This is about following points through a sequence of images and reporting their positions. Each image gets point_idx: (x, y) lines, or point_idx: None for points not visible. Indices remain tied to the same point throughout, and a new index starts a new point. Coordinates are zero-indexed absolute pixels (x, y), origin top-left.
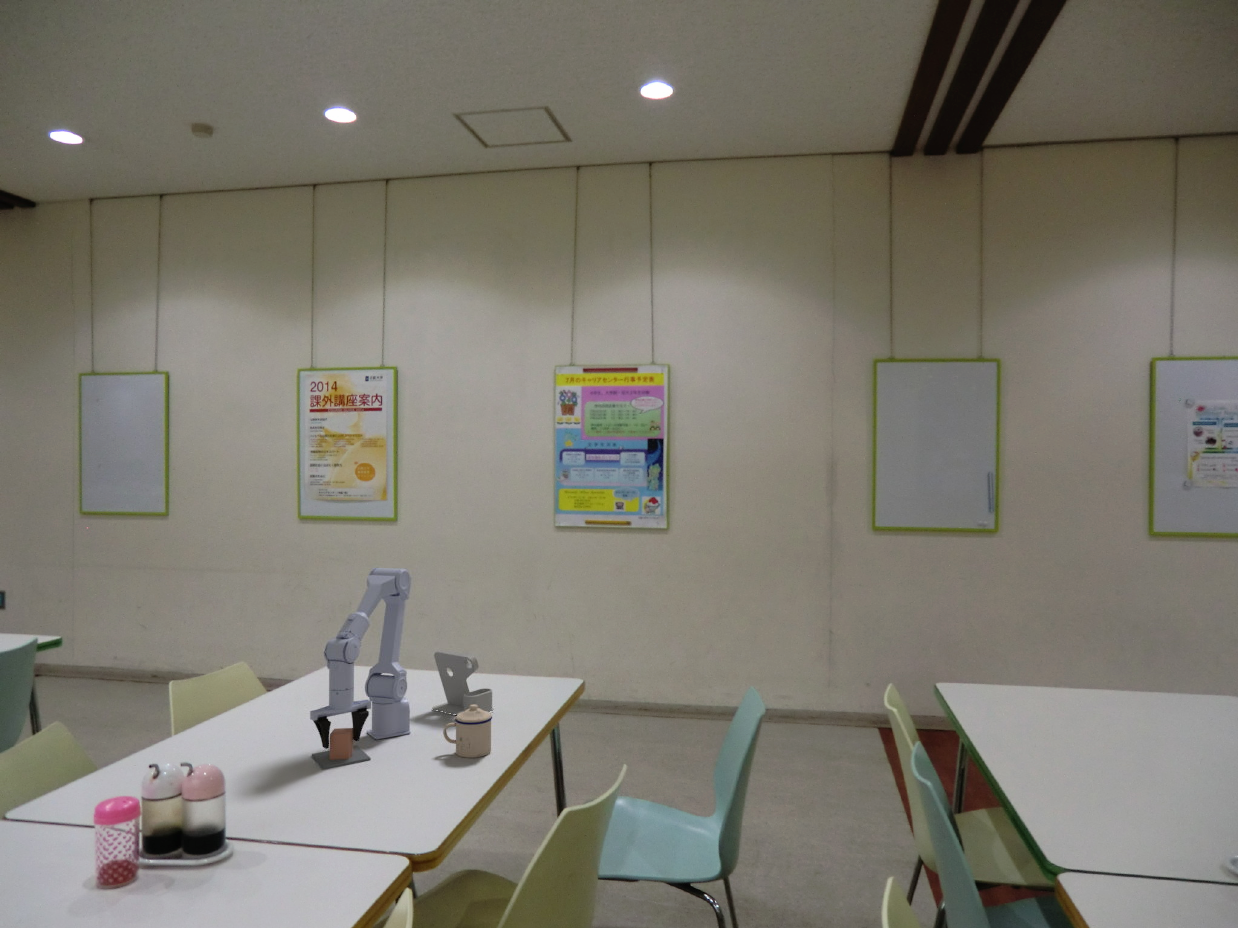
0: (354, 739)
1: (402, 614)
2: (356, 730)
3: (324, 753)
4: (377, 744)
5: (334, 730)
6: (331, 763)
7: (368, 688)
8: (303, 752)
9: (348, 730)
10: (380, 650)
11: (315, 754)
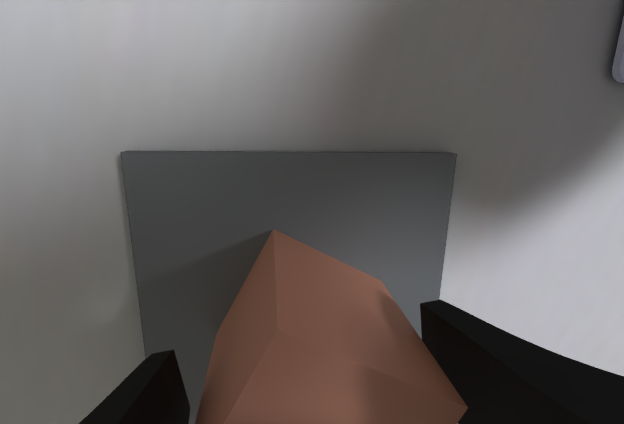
0: (423, 332)
1: None
2: (473, 418)
3: (211, 197)
4: (569, 173)
5: (259, 400)
6: None
7: None
8: (73, 17)
9: None
10: None
11: (146, 181)
